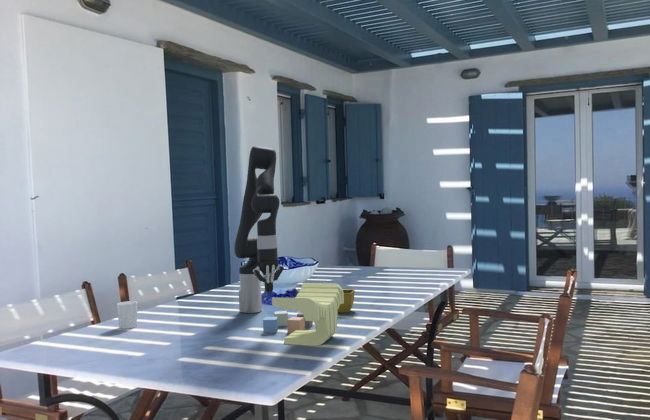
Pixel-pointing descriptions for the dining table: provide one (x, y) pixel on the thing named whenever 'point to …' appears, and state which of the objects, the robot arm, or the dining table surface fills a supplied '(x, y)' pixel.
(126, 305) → the white cup
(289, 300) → the slatted curved stool
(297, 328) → the terracotta block
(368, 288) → the dining table surface
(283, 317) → the sage block
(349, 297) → the flower pot
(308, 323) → the charcoal block
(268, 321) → the blue block
